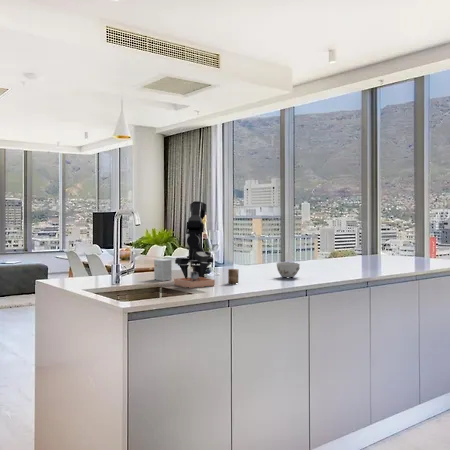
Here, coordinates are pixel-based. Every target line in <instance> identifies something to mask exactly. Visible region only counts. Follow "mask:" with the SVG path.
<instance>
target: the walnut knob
mask: <svg viewBox="0 0 450 450" xmlns="http://www.w3.org/2000/svg"><path fill="white" fill-rule="evenodd" d="M227 272H228V273H227V274H228V278H227V279H228V283H231V284H230V285H237V284H236V283H238V284H239V269H238V268H229V269H228V271H227Z"/></svg>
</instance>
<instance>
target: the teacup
mask: <svg viewBox="0 0 450 450" xmlns="http://www.w3.org/2000/svg"><path fill="white" fill-rule="evenodd" d="M300 265H301V264H300V263H297V262H289V261H279V262H277V263H276V268H277V271H278V273H279V275H280V276H281V278H283V277H293V278H294V277H296V276H297V274H298V272H299V270H300Z"/></svg>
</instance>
